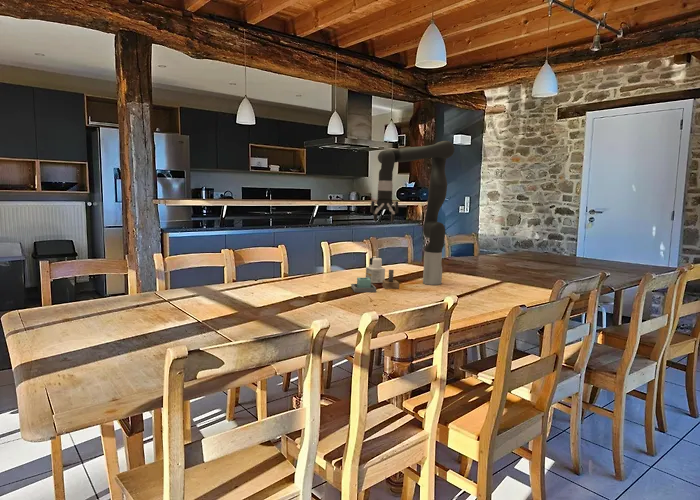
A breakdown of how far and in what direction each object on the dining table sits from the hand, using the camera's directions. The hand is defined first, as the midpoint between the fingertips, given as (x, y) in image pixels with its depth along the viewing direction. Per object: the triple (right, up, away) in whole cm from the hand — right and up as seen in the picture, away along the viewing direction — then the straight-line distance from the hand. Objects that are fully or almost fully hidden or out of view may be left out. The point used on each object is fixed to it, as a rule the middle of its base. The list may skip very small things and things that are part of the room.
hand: (383, 221), depth 247 cm
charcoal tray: (-11, -34, -11) cm, 38 cm away
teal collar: (-11, -34, -11) cm, 37 cm away
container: (-4, -32, +11) cm, 34 cm away
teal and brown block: (+3, -34, -3) cm, 34 cm away
